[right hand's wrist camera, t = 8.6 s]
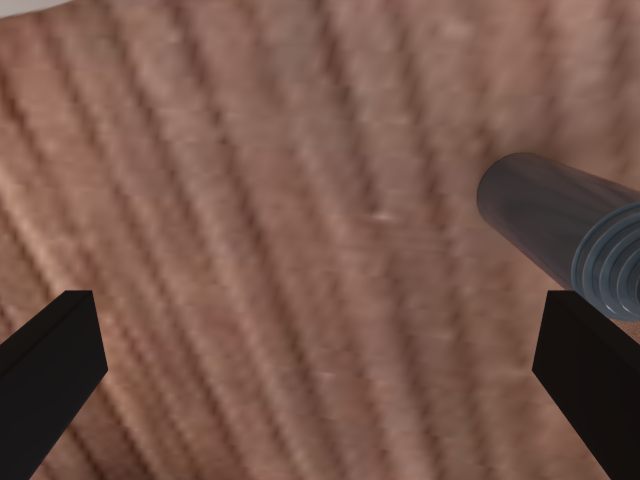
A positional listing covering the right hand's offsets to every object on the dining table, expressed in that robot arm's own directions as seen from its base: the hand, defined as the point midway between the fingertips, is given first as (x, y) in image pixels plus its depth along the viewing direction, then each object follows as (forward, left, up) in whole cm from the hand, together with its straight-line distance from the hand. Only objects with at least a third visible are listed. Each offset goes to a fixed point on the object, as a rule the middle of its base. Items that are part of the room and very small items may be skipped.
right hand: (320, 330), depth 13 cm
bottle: (+5, -18, -29) cm, 34 cm away
